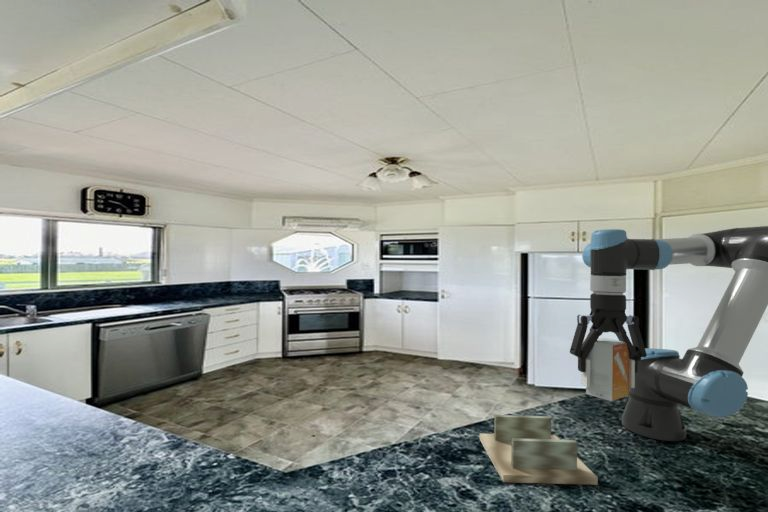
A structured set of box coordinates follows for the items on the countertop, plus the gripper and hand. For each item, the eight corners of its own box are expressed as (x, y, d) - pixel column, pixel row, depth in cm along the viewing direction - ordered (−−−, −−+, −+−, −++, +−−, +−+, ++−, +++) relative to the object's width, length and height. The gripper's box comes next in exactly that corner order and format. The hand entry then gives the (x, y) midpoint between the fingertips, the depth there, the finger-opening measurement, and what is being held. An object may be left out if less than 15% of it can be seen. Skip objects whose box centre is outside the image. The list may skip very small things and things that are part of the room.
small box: (612, 402, 88) (613, 345, 88) (585, 394, 93) (585, 340, 93) (629, 396, 92) (630, 341, 92) (602, 388, 98) (602, 337, 98)
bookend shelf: (555, 441, 101) (555, 412, 101) (597, 484, 81) (598, 448, 81) (479, 439, 101) (480, 410, 101) (503, 482, 81) (503, 446, 81)
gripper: (569, 293, 89) (568, 390, 89) (665, 295, 89) (665, 391, 89) (554, 291, 97) (554, 380, 96) (643, 292, 97) (643, 381, 96)
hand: (607, 385), depth 93 cm, fingers closed on small box, 10 cm apart
